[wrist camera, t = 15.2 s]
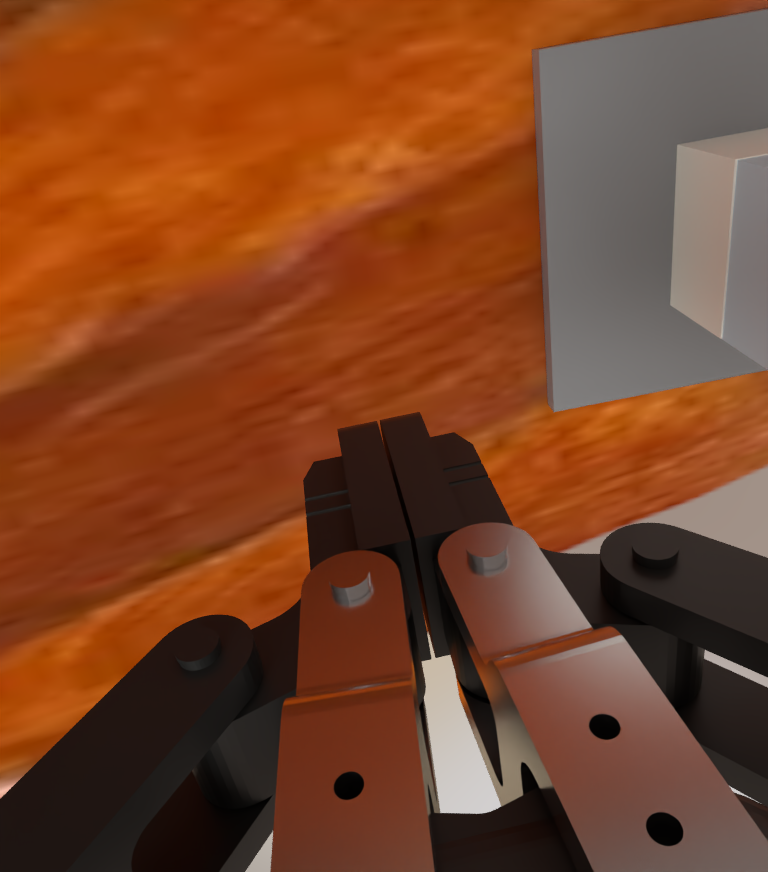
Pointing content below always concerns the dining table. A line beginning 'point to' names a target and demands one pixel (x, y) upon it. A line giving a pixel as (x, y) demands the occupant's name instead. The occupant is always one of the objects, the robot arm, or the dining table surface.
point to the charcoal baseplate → (632, 198)
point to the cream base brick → (707, 223)
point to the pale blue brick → (749, 263)
